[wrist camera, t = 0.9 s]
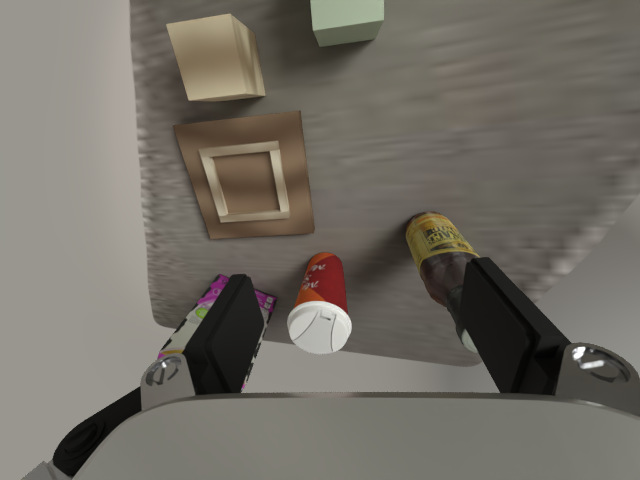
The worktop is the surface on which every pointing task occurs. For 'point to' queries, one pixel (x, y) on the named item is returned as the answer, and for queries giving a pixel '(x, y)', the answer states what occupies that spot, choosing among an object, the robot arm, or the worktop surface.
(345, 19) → the sage block
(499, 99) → the worktop surface
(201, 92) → the maple block
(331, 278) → the paper cup
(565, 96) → the worktop surface
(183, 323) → the candy bar box
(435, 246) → the sauce bottle
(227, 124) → the base plate
